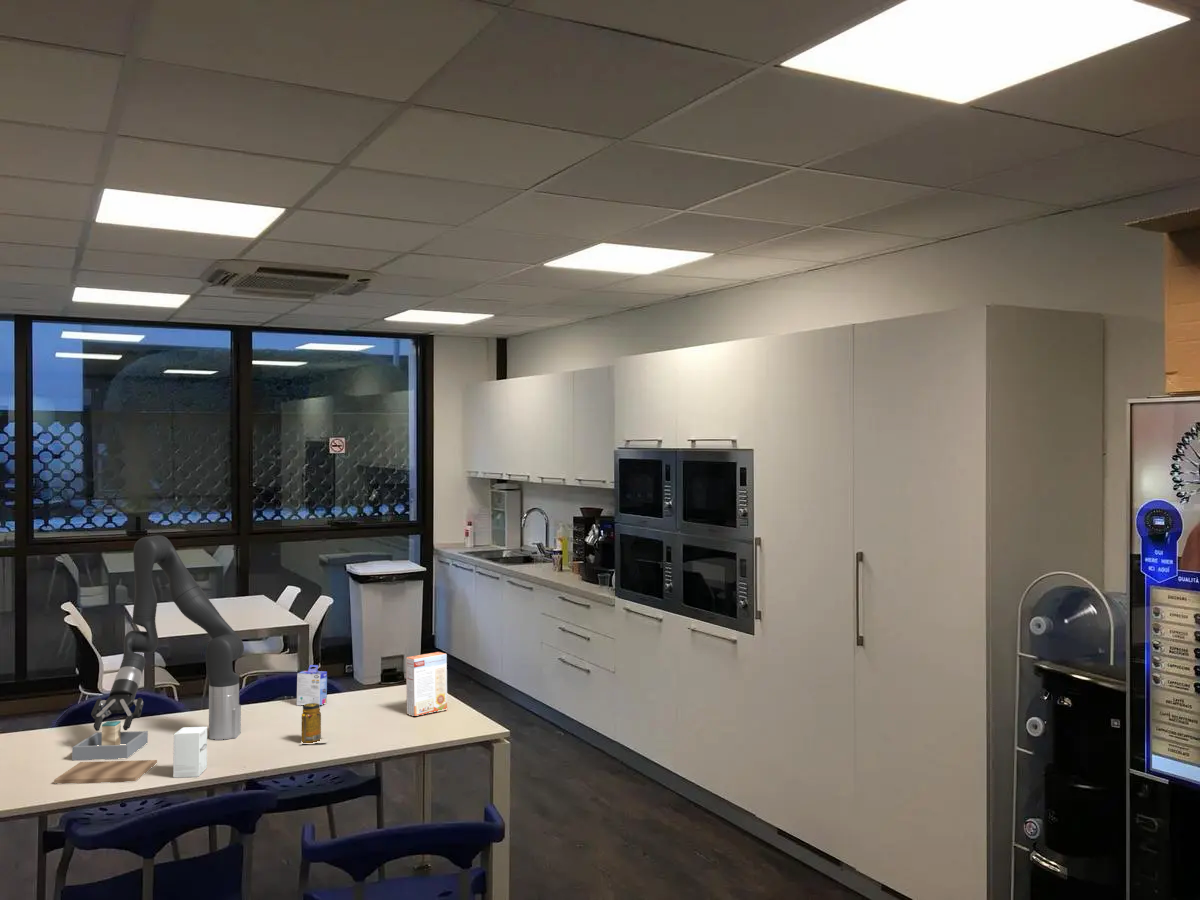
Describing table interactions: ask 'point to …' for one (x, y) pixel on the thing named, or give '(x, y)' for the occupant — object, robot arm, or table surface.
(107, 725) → the beech block
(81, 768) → the walnut board
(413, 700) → the cracker box
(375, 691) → the table surface
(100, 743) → the parts bin
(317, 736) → the condiment
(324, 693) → the ink cartridge box
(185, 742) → the supplement box
